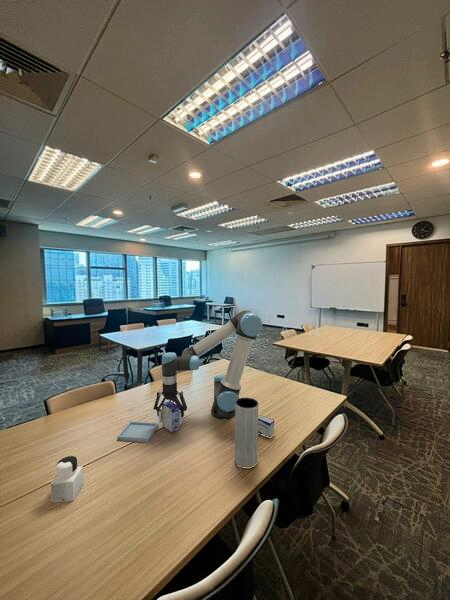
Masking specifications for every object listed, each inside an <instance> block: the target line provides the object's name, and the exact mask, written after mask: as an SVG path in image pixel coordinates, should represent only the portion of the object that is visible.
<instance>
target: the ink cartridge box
mask: <svg viewBox="0 0 450 600" xmlns="http://www.w3.org/2000/svg"><path fill="white" fill-rule="evenodd" d="M161 409H162V422H161V426H163V427H164V428H166V430H168V431H169V432H171V433H173V432H175V431H178V430H179V429H180V428H181V427H180V425H181V424H180V418H179V412H180V409H179V406H177V405H176V403H175V402H174V401H173V400H167V401H164V403H163V405H162V406H161Z"/></svg>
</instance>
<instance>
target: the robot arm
mask: <svg viewBox="0 0 450 600" xmlns="http://www.w3.org/2000/svg"><path fill="white" fill-rule="evenodd" d="M262 329H263V321H262V319H261V317H260V316H259V315H258V314H257V313H254V312H253V311H250V310H242V311H240V312H238V313H237V314H236V315H234V316H232V317H231V318H229V320H228V321H227V323H225V324H224V325H222V326H220V327H219V328H218V329H216V330H214V331H213V332H212V333H210V334H209V335H207V336H206V337H204V338H202V339H201V340H200V341H198V342H196V343H195V344H193V345H192V346H190V347H186V348H185V349H183V351H182V353H181V356H177V353H176V352H171V351H169V352H165V353H163V354H162V355H161V375H162V376H161V379H162V380H161V381H162V384H161V385H162V386H161V388H162V391H161V390H158V391H156V399H155V401H154V406H153V407H152V408H153V410H154V411H156V416H157V417H158V424H162V405H163V403H165V402H166V401H170V400H173V401H174V404H176V405H177V406H179V409H180V412H179V418H180V425H182V423H183V418H184V415H185V412H187V410H188V406H187V403H186V400H185V396H184V391H178V382H177V381H178V376H177V374H178V373H177V372H185V371H186V372H187V371H188V372H189V371H197V370H199V369H200V357H201V356H203V355H205V354H206V353H208V352H209V351H211V350H212V349H214V348H215V347H217V346H218V345H219V344H221V343H223V342H224V341H226V340H227V339H230V338H231V337H232V336H233V335H235V336H236V340H235V343H234V346H233V350H232V353H231V357H230V360H229V361H228V362H229V363H228V365H227V369H226V373H225V374H218V375H215V376H214V377H213V378H214V379H213V382H214V383H213V384H214V385H213V403H212V406H211V409H210V415H211V416H212V417H213V418H214V419H217V420H224V419H226V420H230V418H231V419H233V418H234V417H235V404H236V401H237V400H238V399H240V397H239V396H240V394H241V389H242V386H241V384H240V383H241V380H242V376H243V374H244V370H245V367H246V363H247V360H248V357H249V354H250V350H251V347H252V343H253V342H255V341H256V340H257V337H258V335H259V334H260V333H261V331H263V330H262ZM161 396H163V398H162V400H161V402H160V399H161ZM178 397H179V398H178ZM173 401H172V402H173ZM159 402H160V403H159ZM158 405H159V406H158ZM232 417H233V418H232ZM224 421H225V420H224Z"/></svg>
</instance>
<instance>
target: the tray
mask: <svg viewBox="0 0 450 600" xmlns="http://www.w3.org/2000/svg"><path fill="white" fill-rule="evenodd" d="M158 428H159V422H151V421H149V422H147V421H136V420H135V421H132V420H131V421H129V422H128V423H127V424H126V426H125V427H124V428H123V429H122V430H121V432H119V433H118V435H117V437H116V438H117V439H116V440H117V441H121V442H134V443H135V442H136V443H149V442H150V441H151V439H152V438H153V436H154V434H155V433H156V431H157V430H158Z"/></svg>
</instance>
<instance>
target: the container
mask: <svg viewBox="0 0 450 600" xmlns="http://www.w3.org/2000/svg"><path fill="white" fill-rule="evenodd" d="M55 465H56V466H55V469H56V475H55V476H54V478H53V479H52V480H51V482H50V499H51V500H50V501H51V503H64V502H74V501H75V499H76V498H77V496H78V494H79V493H80V491H81V489H82V487H83V486H84V467H83V466H82V465H81V466H78V458H77V456H74V455H69V456H66V457H63V458H61V459H60V460H59V461H58V462H57V463H56V464H55Z"/></svg>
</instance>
